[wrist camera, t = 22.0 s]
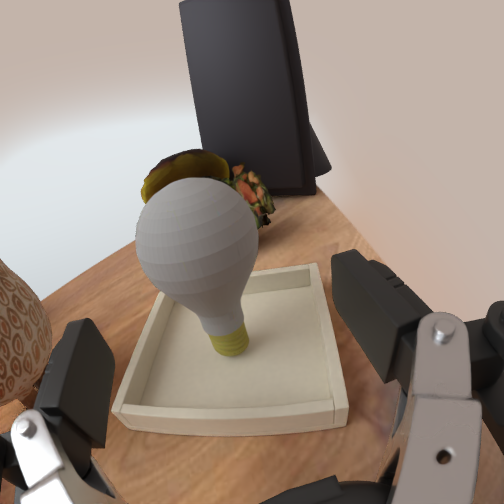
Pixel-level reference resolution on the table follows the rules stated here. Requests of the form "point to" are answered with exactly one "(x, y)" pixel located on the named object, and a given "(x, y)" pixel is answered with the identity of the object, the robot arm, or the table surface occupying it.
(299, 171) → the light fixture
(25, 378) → the figurine
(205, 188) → the light bulb
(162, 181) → the mushroom
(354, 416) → the table surface
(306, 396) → the ivory tray
